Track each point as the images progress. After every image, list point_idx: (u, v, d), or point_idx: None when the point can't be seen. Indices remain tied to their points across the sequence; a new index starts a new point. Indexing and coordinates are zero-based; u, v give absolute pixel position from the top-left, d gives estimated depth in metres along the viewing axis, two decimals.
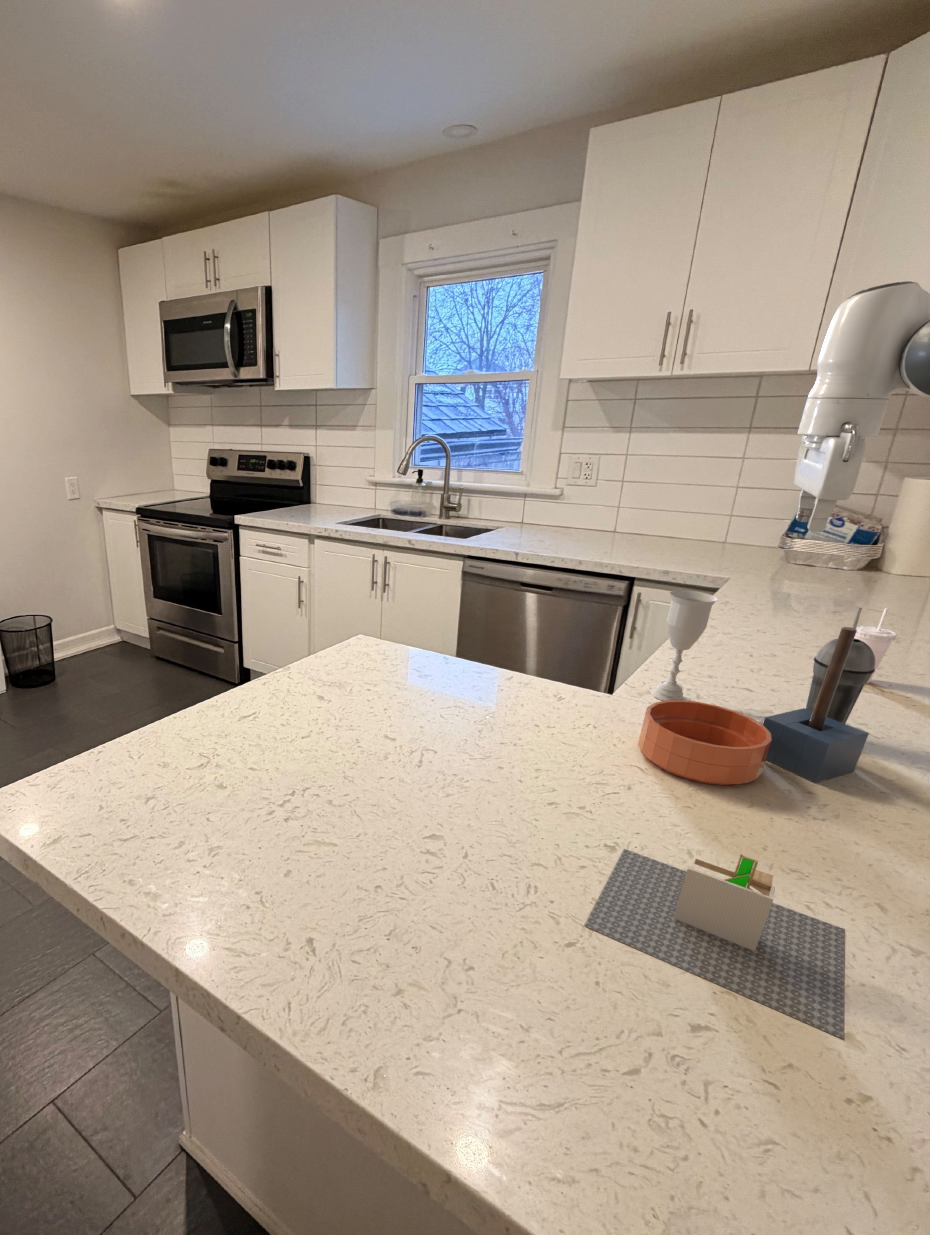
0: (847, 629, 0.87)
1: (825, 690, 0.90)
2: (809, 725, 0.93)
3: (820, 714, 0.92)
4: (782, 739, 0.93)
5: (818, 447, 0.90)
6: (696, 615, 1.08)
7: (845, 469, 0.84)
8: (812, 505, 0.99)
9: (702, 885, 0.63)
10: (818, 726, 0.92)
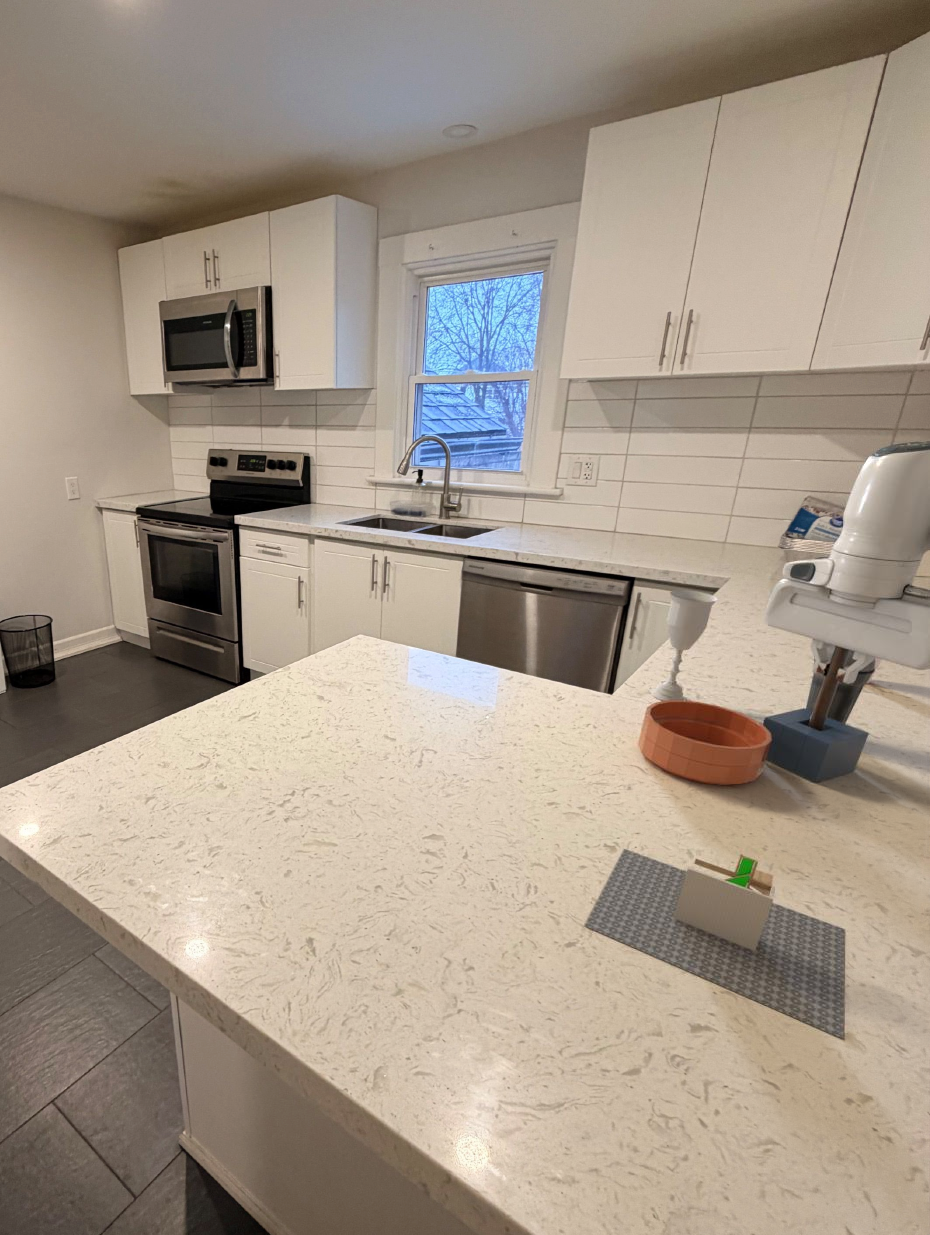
0: None
1: (825, 690, 0.90)
2: (809, 725, 0.93)
3: (820, 714, 0.92)
4: (782, 739, 0.93)
5: (870, 607, 0.83)
6: (696, 615, 1.08)
7: None
8: (826, 656, 0.91)
9: (702, 885, 0.63)
10: (818, 726, 0.92)
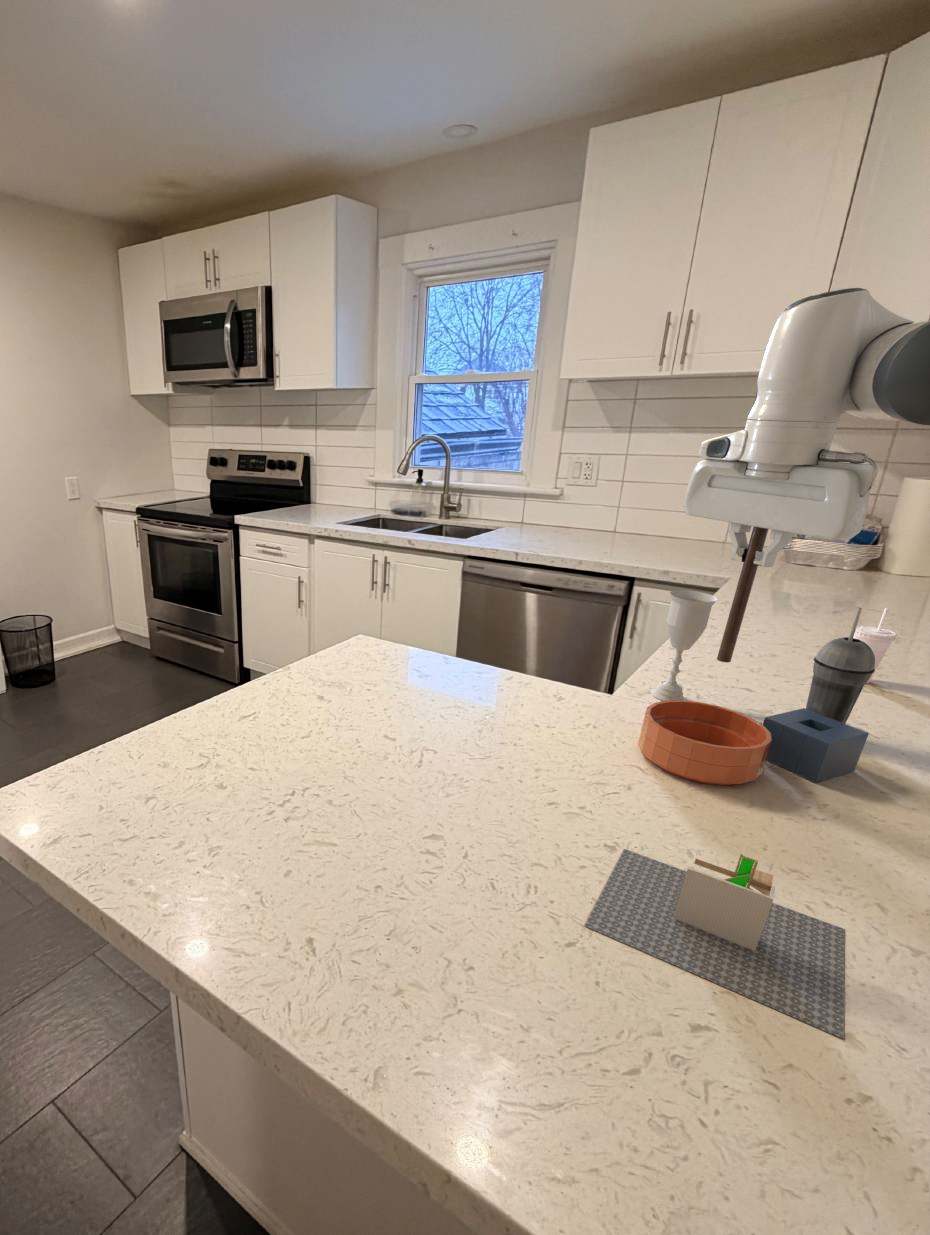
0: None
1: (744, 577, 0.85)
2: (729, 618, 0.87)
3: (739, 604, 0.86)
4: (782, 739, 0.93)
5: (785, 477, 0.78)
6: (696, 615, 1.08)
7: (861, 505, 0.73)
8: (745, 541, 0.85)
9: (702, 885, 0.63)
10: (737, 618, 0.86)
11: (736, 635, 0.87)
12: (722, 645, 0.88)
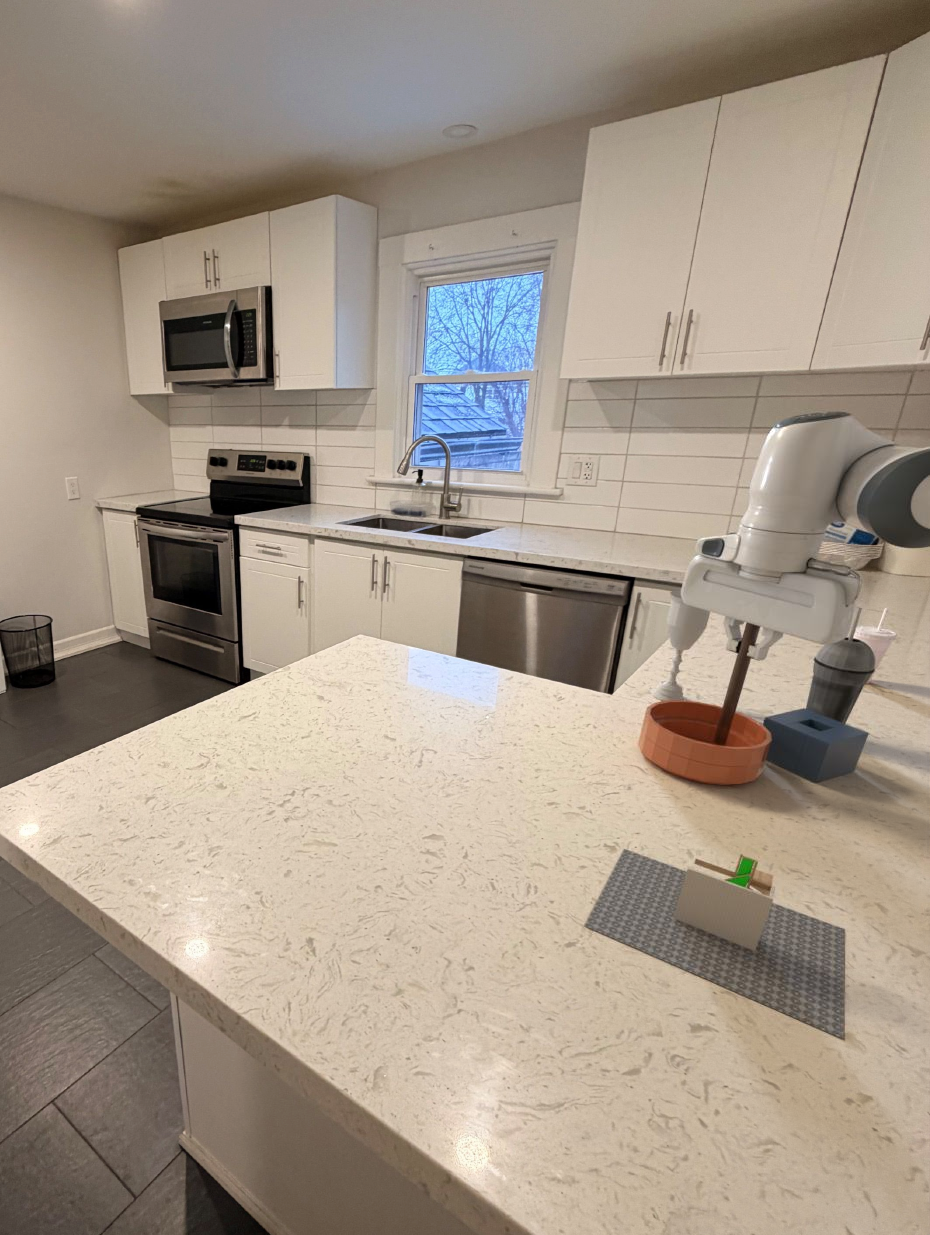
0: None
1: (738, 668, 0.89)
2: (724, 704, 0.92)
3: (734, 692, 0.90)
4: (782, 739, 0.93)
5: (776, 582, 0.82)
6: (696, 615, 1.08)
7: (847, 614, 0.78)
8: (739, 633, 0.90)
9: (702, 885, 0.63)
10: (732, 705, 0.91)
11: (731, 721, 0.92)
12: (718, 729, 0.93)
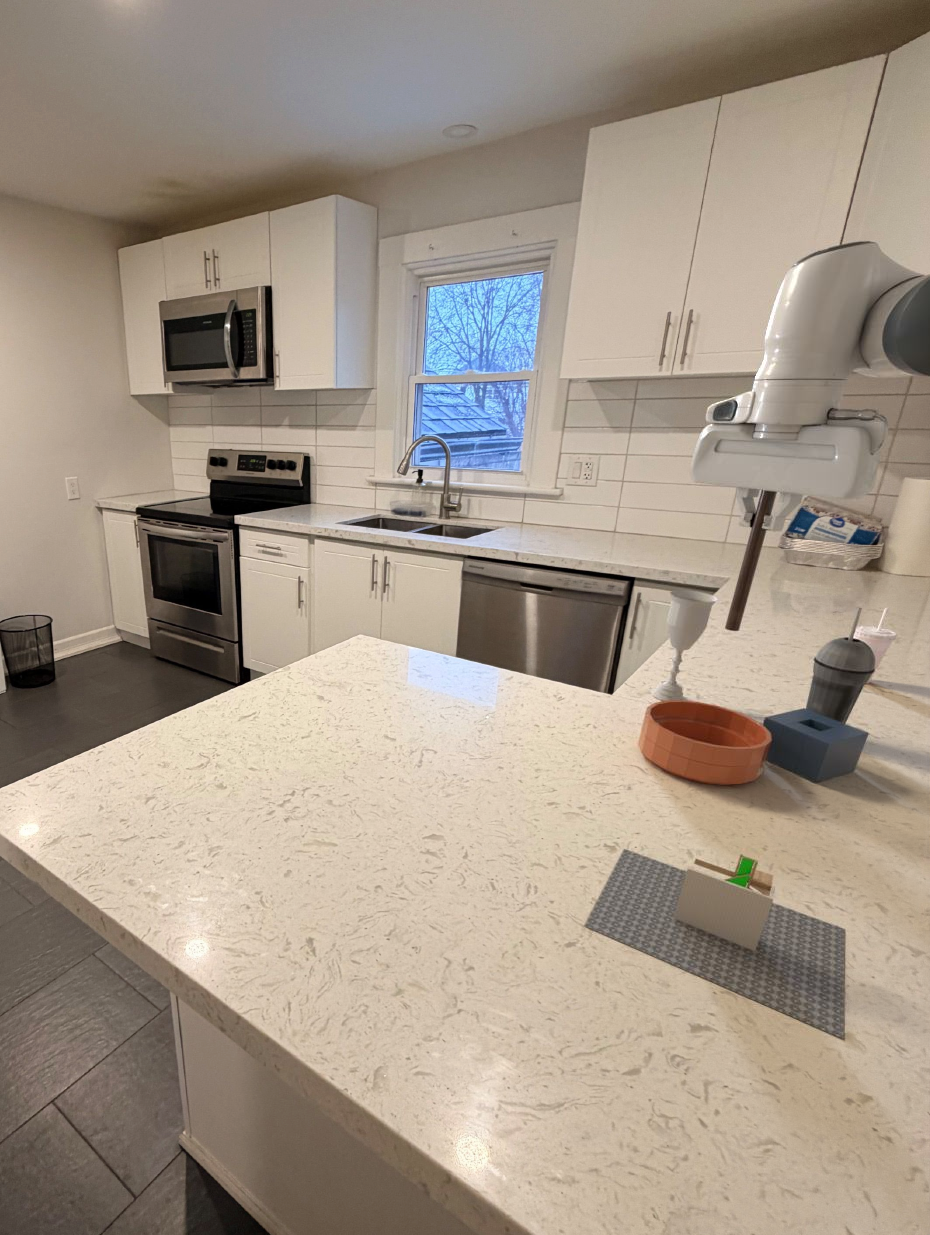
0: None
1: (752, 542, 0.83)
2: (737, 585, 0.86)
3: (747, 571, 0.84)
4: (782, 739, 0.93)
5: (794, 438, 0.76)
6: (696, 615, 1.08)
7: (872, 463, 0.72)
8: (753, 507, 0.84)
9: (702, 885, 0.63)
10: (746, 585, 0.85)
11: (745, 603, 0.86)
12: (730, 613, 0.87)
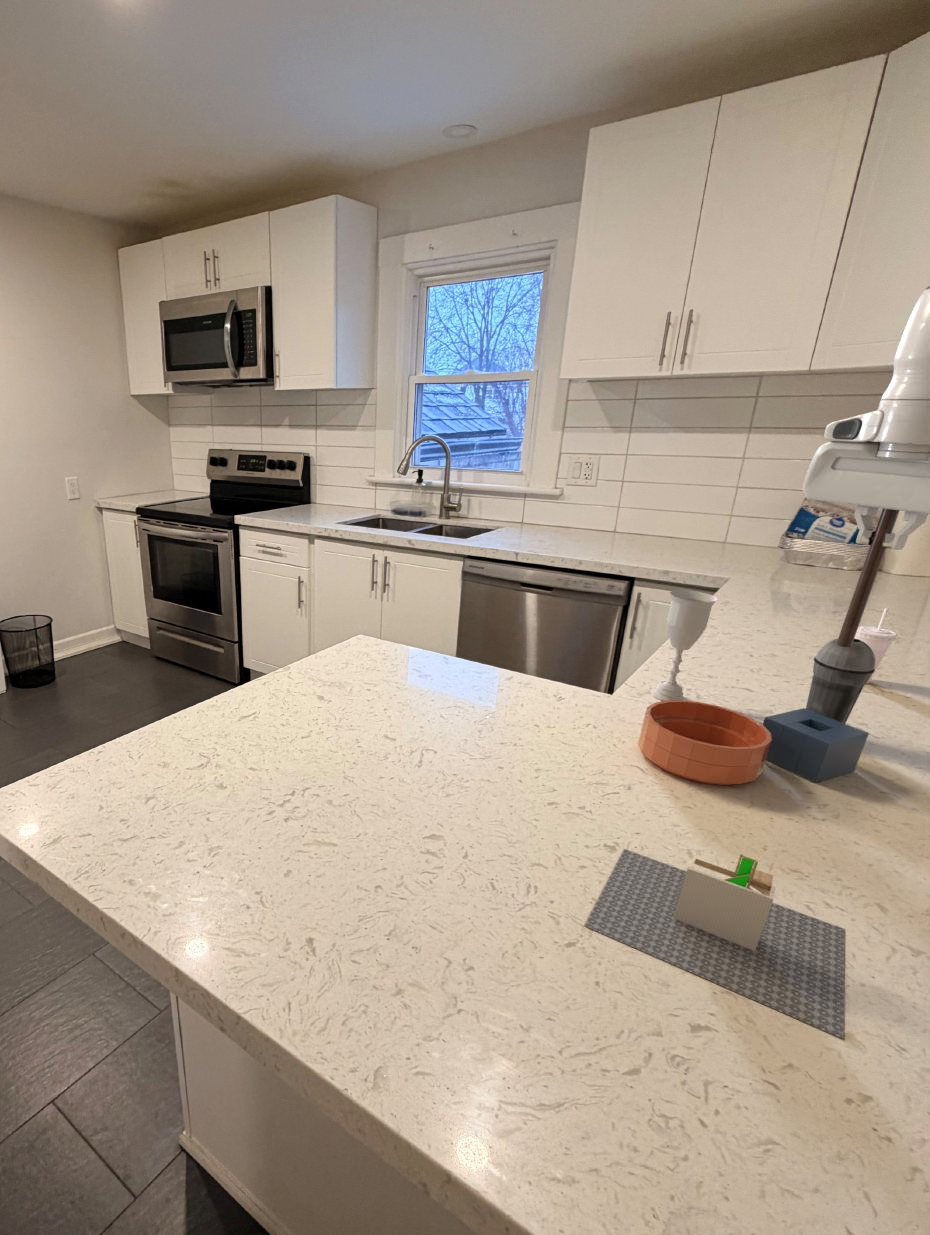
0: None
1: (870, 560, 0.84)
2: (852, 602, 0.86)
3: (864, 588, 0.85)
4: (782, 739, 0.93)
5: (924, 458, 0.77)
6: (696, 615, 1.08)
7: None
8: (871, 524, 0.84)
9: (702, 885, 0.63)
10: (862, 601, 0.85)
11: (859, 620, 0.86)
12: (843, 630, 0.87)
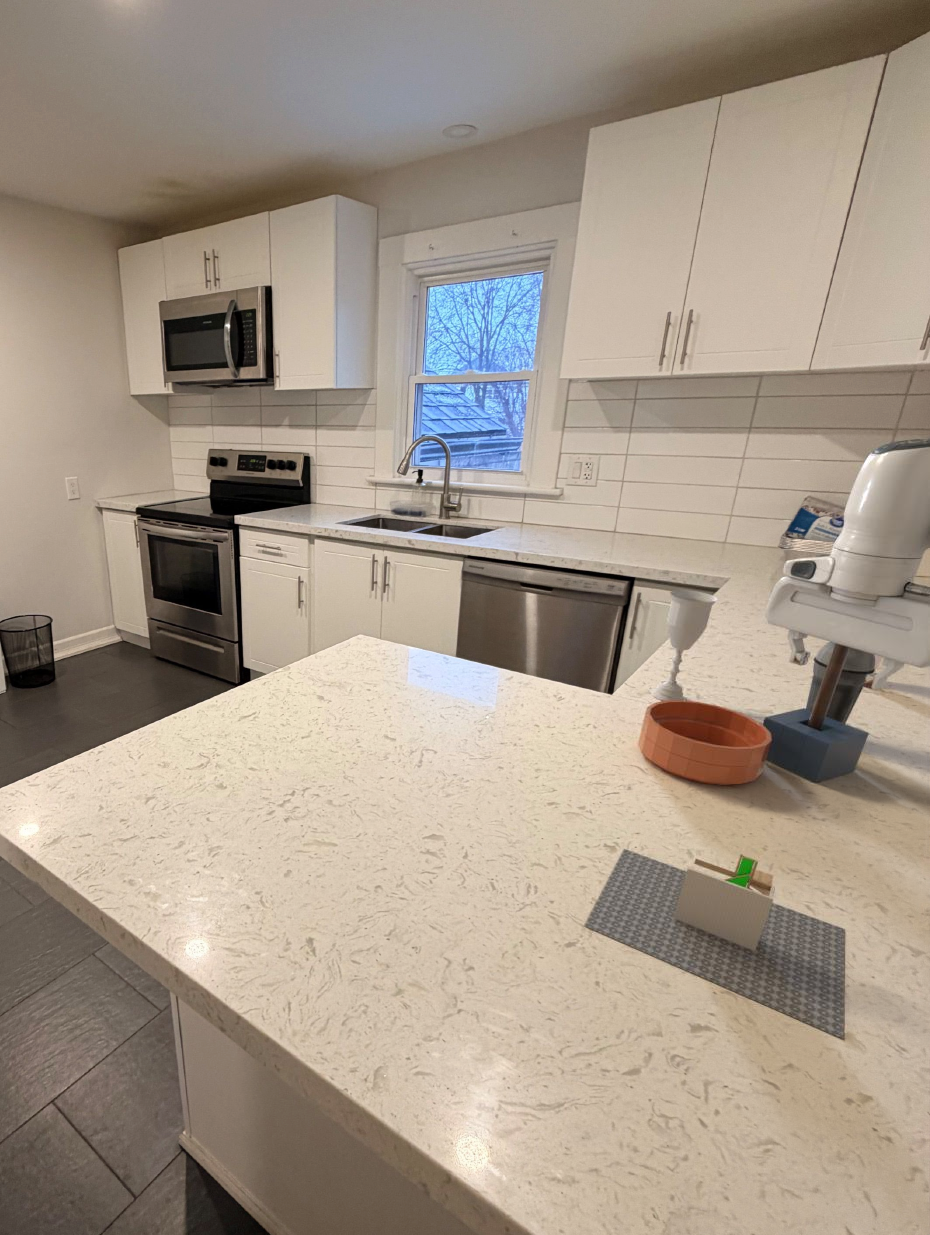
0: None
1: (824, 690, 0.90)
2: (808, 725, 0.93)
3: (819, 714, 0.92)
4: (782, 739, 0.93)
5: (871, 605, 0.83)
6: (696, 615, 1.08)
7: None
8: (802, 646, 0.94)
9: (702, 885, 0.63)
10: (817, 726, 0.92)
11: None
12: None
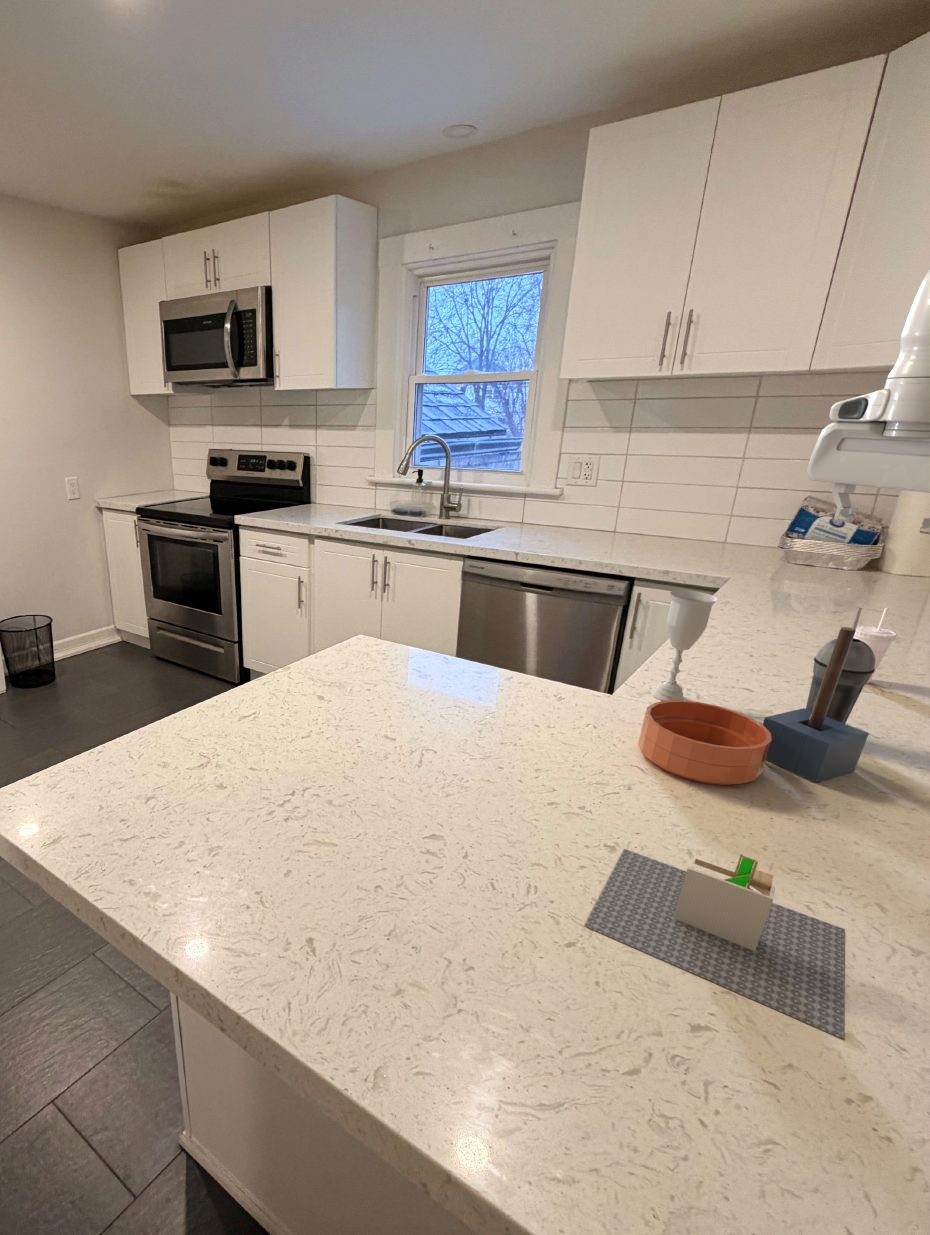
0: (846, 629, 0.87)
1: (824, 690, 0.90)
2: (808, 725, 0.93)
3: (819, 714, 0.92)
4: (782, 739, 0.93)
5: None
6: (696, 615, 1.08)
7: None
8: (849, 502, 0.86)
9: (702, 885, 0.63)
10: (817, 726, 0.92)
11: None
12: None
